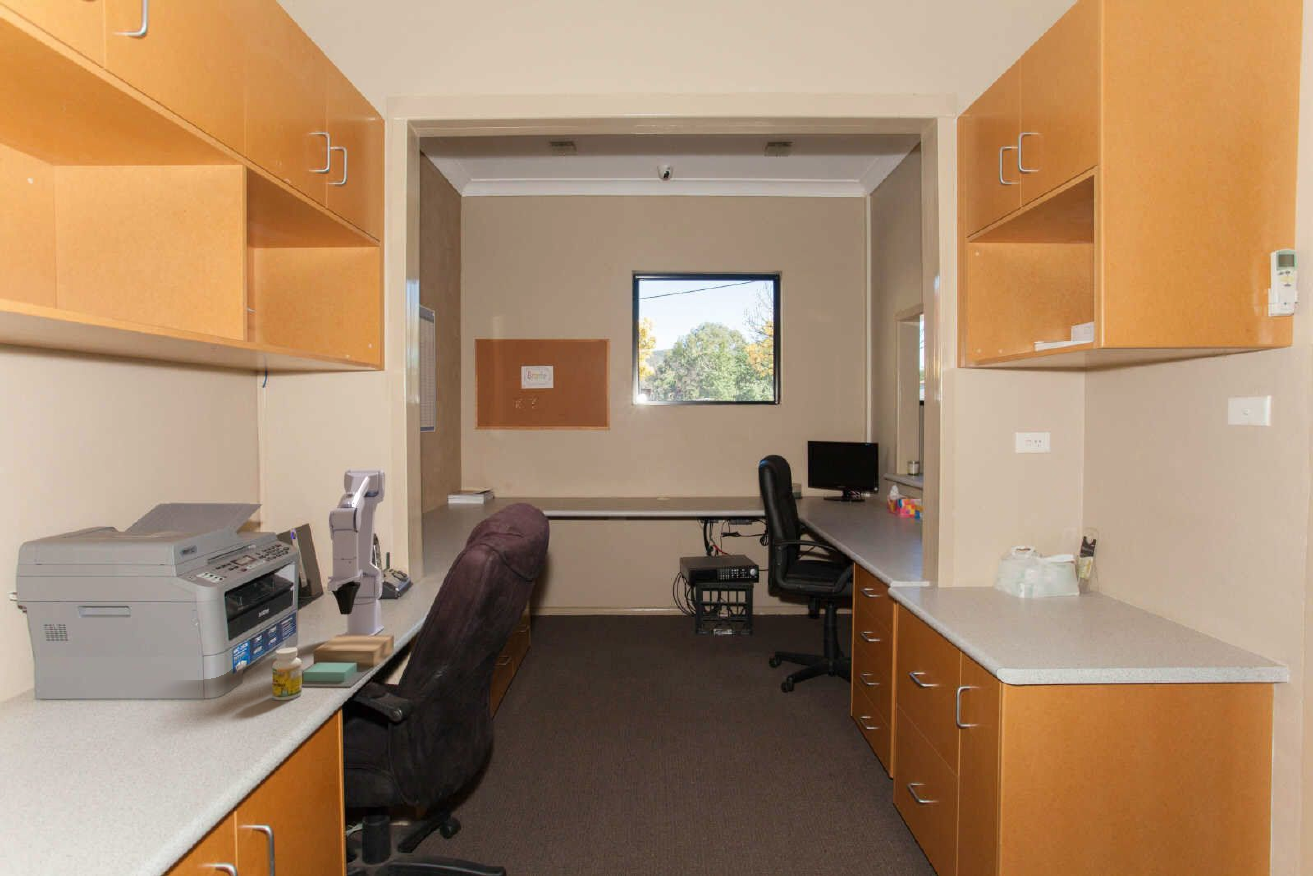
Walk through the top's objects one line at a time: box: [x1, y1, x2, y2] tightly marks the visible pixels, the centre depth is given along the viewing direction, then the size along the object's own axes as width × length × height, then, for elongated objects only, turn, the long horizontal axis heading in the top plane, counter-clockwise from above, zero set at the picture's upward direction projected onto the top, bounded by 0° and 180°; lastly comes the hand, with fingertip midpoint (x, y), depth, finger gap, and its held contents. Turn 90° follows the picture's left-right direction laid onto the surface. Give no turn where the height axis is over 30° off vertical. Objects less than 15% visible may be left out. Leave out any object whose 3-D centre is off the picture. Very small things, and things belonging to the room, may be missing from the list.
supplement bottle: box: [271, 647, 303, 701], centre depth 151 cm, size 5×5×10 cm
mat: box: [302, 667, 375, 689], centre depth 162 cm, size 12×14×1 cm
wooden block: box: [313, 634, 395, 669], centre depth 174 cm, size 12×14×4 cm
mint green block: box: [303, 663, 357, 681], centre depth 161 cm, size 6×9×2 cm, turn 89°
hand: (346, 613), depth 175 cm, fingers closed
